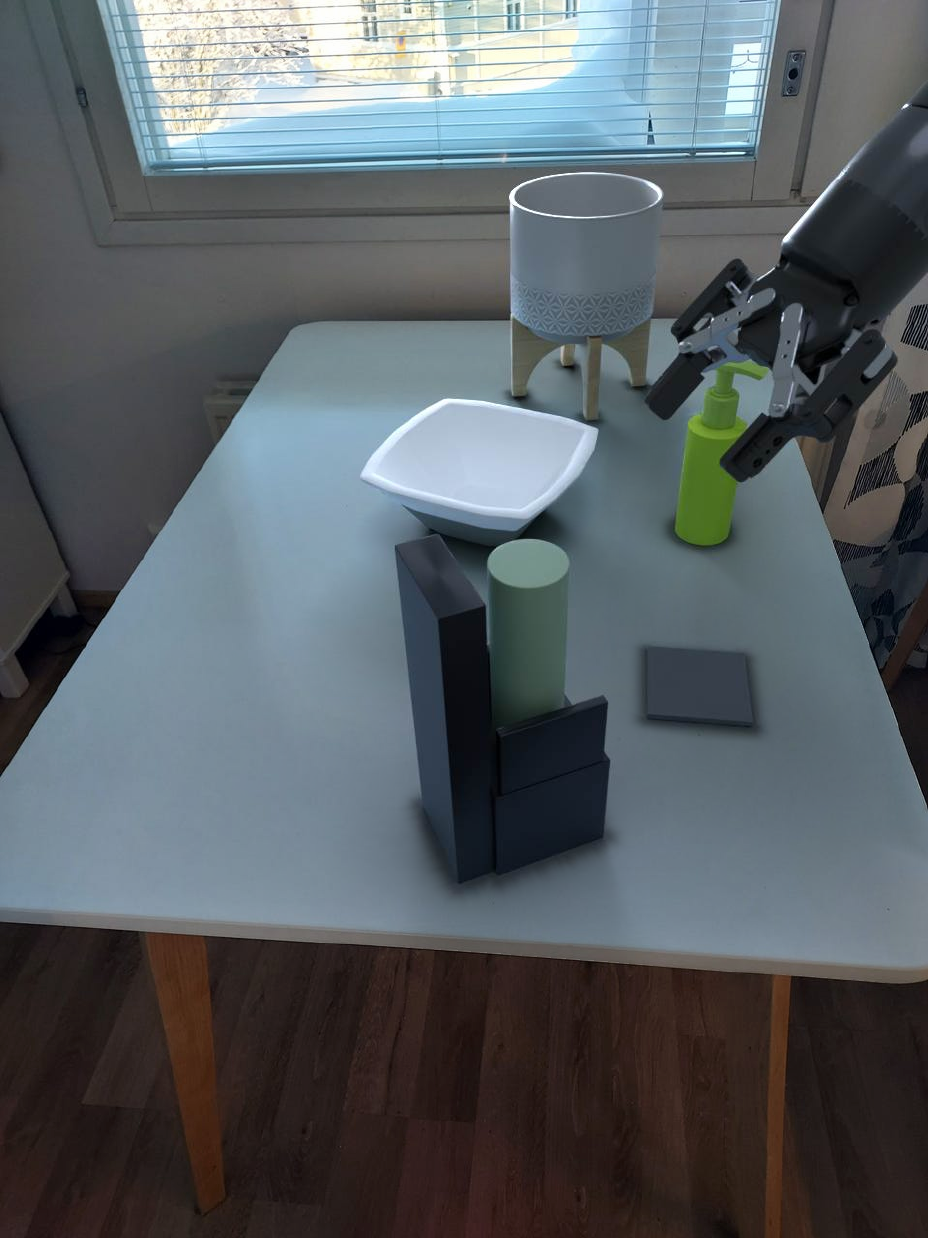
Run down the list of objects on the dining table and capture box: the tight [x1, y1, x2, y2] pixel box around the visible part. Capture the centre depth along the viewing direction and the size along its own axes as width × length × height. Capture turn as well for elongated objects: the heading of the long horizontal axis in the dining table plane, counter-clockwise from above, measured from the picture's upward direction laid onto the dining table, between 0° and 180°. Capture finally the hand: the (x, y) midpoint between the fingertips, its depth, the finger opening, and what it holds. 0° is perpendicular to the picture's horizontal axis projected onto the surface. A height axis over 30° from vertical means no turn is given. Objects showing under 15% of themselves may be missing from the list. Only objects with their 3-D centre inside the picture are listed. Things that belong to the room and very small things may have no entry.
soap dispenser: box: [674, 360, 770, 546], centre depth 97 cm, size 6×7×20 cm
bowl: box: [359, 398, 600, 548], centre depth 105 cm, size 22×23×8 cm
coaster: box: [646, 646, 754, 727], centre depth 84 cm, size 9×9×1 cm
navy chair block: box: [394, 533, 611, 884], centre depth 66 cm, size 12×9×26 cm
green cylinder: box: [486, 538, 571, 746], centre depth 64 cm, size 5×5×16 cm
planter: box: [509, 172, 665, 421], centre depth 123 cm, size 19×19×26 cm
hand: (689, 441), depth 57 cm, fingers open, 8 cm apart
